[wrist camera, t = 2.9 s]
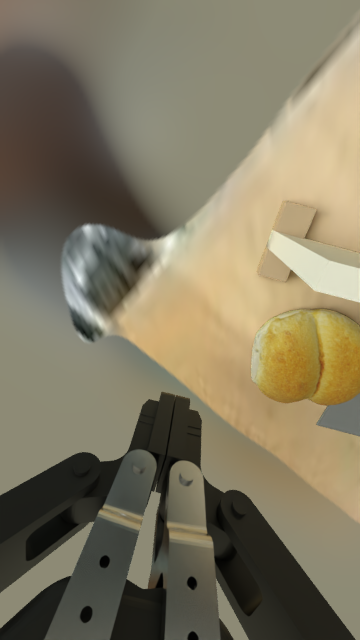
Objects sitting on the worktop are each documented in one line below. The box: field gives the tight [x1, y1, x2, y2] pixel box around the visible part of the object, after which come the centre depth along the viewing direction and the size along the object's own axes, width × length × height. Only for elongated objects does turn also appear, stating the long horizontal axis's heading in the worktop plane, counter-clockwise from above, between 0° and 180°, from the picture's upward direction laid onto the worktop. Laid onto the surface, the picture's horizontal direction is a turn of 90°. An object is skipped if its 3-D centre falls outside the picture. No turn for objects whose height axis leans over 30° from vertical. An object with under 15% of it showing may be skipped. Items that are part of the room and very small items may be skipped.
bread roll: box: [251, 309, 360, 405], centre depth 21 cm, size 8×9×4 cm
